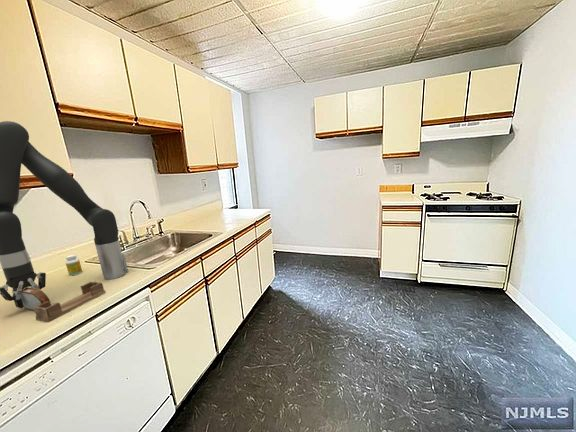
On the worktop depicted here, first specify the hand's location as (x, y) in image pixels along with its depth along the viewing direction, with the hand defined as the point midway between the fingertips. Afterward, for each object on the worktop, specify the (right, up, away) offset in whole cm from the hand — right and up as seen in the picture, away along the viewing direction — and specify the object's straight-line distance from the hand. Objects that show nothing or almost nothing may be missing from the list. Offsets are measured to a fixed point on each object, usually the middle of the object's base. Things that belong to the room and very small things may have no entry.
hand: (30, 303), depth 98 cm
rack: (+18, 0, -1) cm, 18 cm away
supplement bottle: (-9, +4, +31) cm, 33 cm away
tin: (+4, -2, -1) cm, 5 cm away
